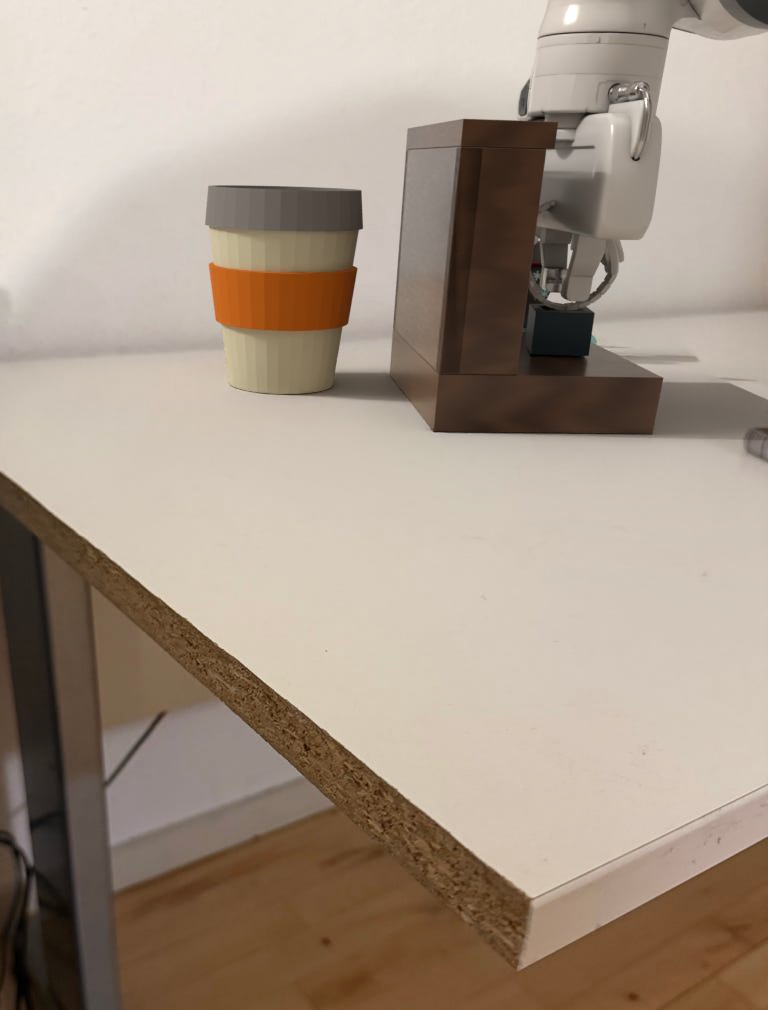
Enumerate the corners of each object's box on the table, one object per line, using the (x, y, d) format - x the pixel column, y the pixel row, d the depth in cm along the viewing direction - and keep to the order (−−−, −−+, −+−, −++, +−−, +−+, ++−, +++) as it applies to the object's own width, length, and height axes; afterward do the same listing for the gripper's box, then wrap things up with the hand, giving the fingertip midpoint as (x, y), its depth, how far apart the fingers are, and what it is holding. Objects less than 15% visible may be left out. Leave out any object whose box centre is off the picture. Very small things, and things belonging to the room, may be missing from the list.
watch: (615, 356, 72) (639, 197, 68) (507, 353, 73) (524, 196, 69) (603, 346, 77) (625, 196, 73) (503, 343, 78) (518, 195, 74)
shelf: (563, 377, 86) (601, 134, 77) (652, 434, 68) (714, 126, 60) (389, 375, 85) (407, 128, 76) (433, 431, 67) (463, 118, 59)
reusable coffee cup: (378, 394, 78) (392, 192, 71) (231, 402, 74) (231, 189, 67) (321, 365, 88) (328, 186, 81) (190, 371, 84) (186, 184, 77)
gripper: (704, 80, 58) (657, 316, 64) (588, 99, 76) (561, 282, 82) (604, 75, 58) (566, 314, 64) (511, 96, 76) (489, 280, 82)
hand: (562, 296), depth 73 cm, fingers closed on watch, 4 cm apart
